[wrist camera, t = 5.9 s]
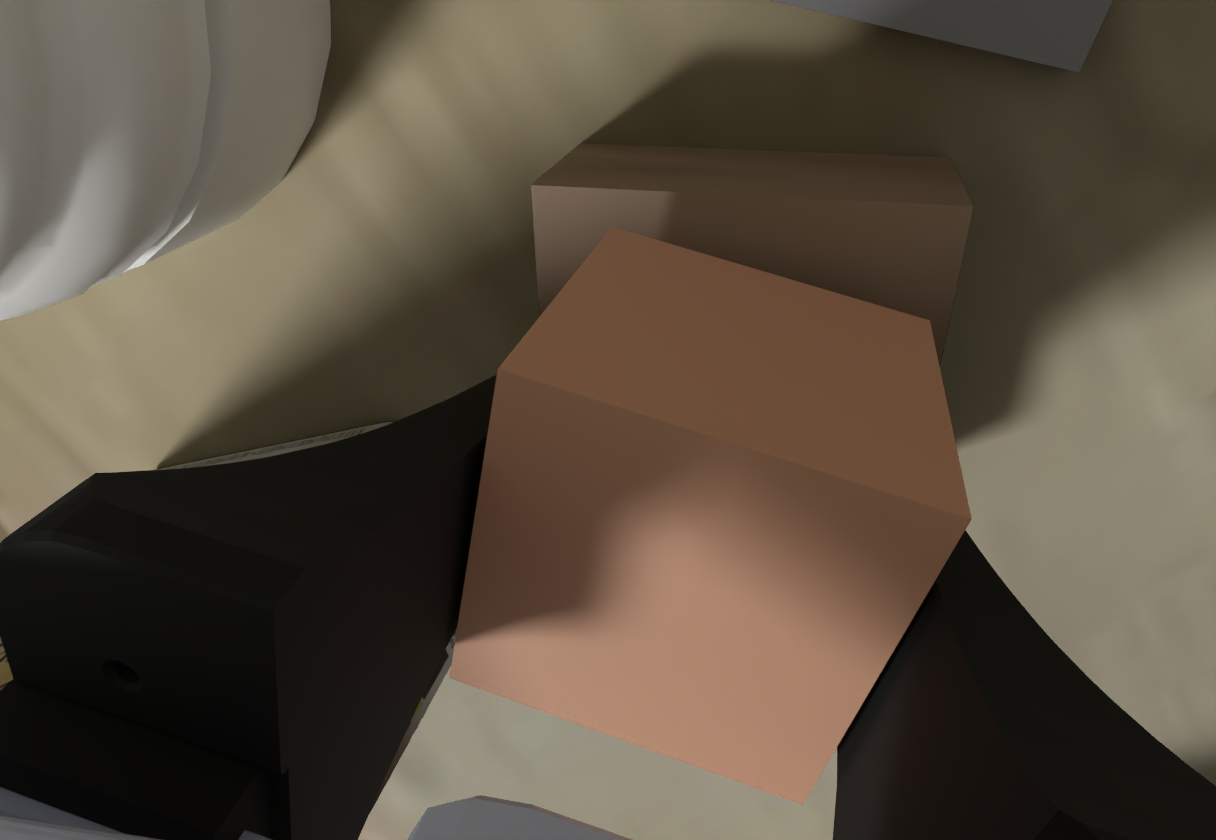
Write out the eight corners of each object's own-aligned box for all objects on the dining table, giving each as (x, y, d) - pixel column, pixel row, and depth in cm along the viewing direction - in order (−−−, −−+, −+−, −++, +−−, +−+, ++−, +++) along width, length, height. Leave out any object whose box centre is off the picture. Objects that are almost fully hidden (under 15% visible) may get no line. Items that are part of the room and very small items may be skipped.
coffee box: (398, 408, 21) (-390, 1257, 8) (494, 600, 24) (38, 1481, 10) (143, 463, 24) (-721, 1124, 11) (253, 626, 27) (-332, 1320, 14)
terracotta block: (815, 562, 15) (802, 804, 11) (556, 477, 16) (450, 677, 11) (929, 320, 12) (971, 518, 8) (611, 226, 13) (498, 369, 9)
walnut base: (888, 466, 19) (898, 564, 16) (592, 433, 20) (551, 517, 17) (947, 153, 15) (973, 206, 12) (583, 140, 17) (530, 185, 14)
